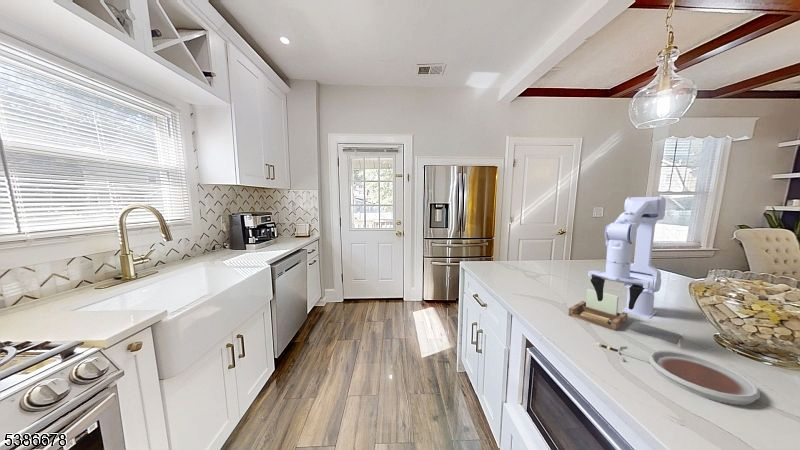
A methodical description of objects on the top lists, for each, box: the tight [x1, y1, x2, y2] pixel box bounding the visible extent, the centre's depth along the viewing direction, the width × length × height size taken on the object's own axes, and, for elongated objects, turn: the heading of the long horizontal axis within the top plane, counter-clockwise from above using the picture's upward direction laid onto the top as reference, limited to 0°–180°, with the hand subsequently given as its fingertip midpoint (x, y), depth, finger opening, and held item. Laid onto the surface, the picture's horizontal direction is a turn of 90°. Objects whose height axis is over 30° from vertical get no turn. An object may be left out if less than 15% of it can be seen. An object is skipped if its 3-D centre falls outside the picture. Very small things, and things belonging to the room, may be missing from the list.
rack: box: [568, 300, 628, 332], centre depth 90 cm, size 12×14×3 cm
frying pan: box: [595, 341, 761, 406], centre depth 64 cm, size 17×3×28 cm
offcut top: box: [579, 312, 610, 324], centre depth 89 cm, size 4×8×1 cm, turn 41°
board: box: [585, 288, 620, 315], centre depth 92 cm, size 2×9×9 cm, turn 34°
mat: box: [626, 321, 682, 345], centre depth 81 cm, size 8×11×1 cm
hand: (614, 304), depth 79 cm, fingers open, 7 cm apart
